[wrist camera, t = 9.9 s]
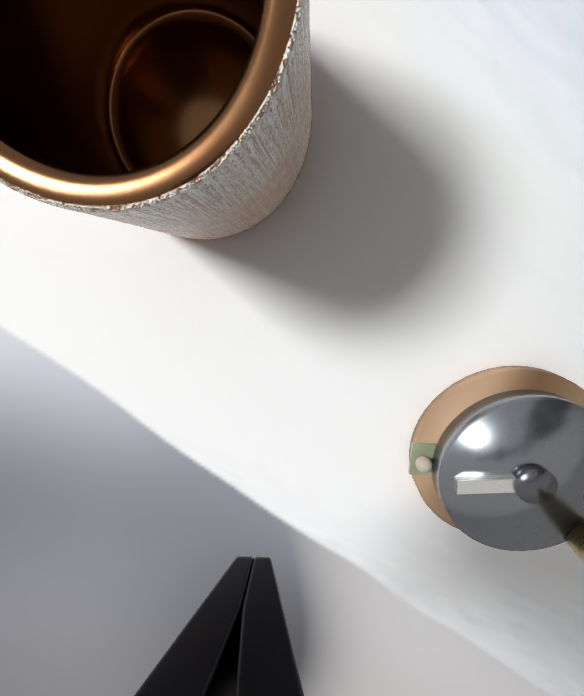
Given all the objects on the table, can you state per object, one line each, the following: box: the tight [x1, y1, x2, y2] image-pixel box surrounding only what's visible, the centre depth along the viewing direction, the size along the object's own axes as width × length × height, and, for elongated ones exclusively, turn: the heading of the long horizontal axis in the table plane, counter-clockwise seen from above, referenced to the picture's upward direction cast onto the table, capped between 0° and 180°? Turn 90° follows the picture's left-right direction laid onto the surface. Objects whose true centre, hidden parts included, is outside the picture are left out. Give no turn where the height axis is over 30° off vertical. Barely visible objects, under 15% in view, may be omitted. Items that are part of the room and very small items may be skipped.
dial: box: [432, 389, 584, 562], centre depth 16 cm, size 9×9×5 cm
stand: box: [409, 366, 584, 529], centre depth 19 cm, size 11×11×2 cm
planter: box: [0, 0, 312, 239], centre depth 12 cm, size 11×11×10 cm
